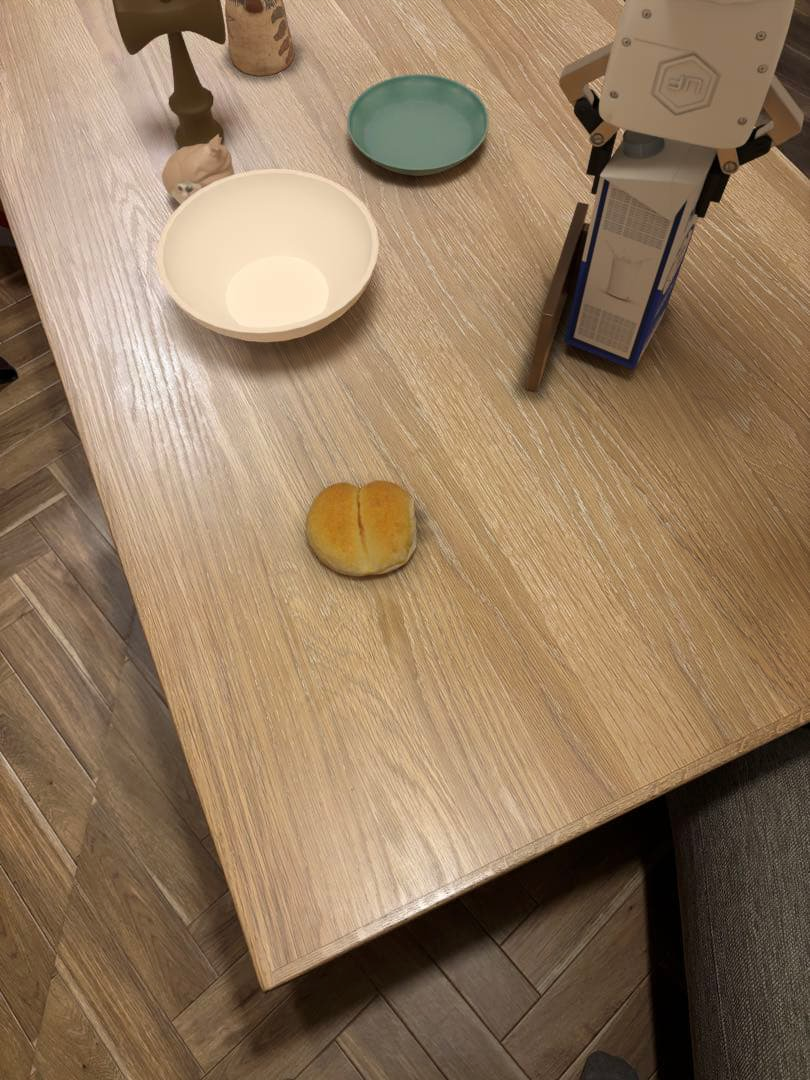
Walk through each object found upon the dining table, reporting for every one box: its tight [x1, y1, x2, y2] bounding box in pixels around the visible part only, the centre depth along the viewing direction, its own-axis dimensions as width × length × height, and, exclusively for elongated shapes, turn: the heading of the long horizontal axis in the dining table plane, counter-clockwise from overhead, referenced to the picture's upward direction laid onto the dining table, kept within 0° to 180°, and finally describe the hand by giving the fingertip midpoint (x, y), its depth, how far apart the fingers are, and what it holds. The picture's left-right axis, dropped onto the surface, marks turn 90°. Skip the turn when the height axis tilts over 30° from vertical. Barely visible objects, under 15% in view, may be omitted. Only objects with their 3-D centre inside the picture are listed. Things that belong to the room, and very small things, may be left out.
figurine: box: [224, 0, 295, 77], centre depth 93 cm, size 7×7×12 cm
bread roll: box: [305, 480, 418, 577], centre depth 69 cm, size 8×9×4 cm
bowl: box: [156, 168, 380, 343], centre depth 79 cm, size 20×20×7 cm
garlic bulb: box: [161, 134, 235, 205], centre depth 84 cm, size 7×6×8 cm
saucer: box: [346, 73, 490, 177], centre depth 91 cm, size 15×15×3 cm
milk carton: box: [563, 130, 718, 371], centre depth 69 cm, size 7×7×20 cm
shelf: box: [525, 201, 590, 393], centre depth 75 cm, size 10×13×10 cm
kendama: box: [111, 0, 227, 149], centre depth 83 cm, size 6×10×20 cm, turn 103°
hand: (650, 192), depth 64 cm, fingers closed on milk carton, 7 cm apart
